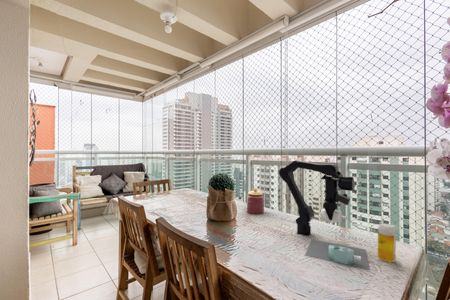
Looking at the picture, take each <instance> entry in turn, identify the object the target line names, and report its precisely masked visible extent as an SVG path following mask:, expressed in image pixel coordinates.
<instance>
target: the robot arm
mask: <svg viewBox="0 0 450 300" xmlns="http://www.w3.org/2000/svg"><path fill="white" fill-rule="evenodd" d="M298 168H299V169H304V170H309V171H315V172H319V173H321V174H323V176H322V177H320V179H321V180H324V202H323V203H322V209H325V211H326V213H327V215H328V217H329V220H332V218H333V213H334V211H335V210H336V211H338V206H339V204H338V203H341V204H343V205H345V206H349V203H350V202H351V198H350V197H349V195H348V194H347V193H345V192H344V193H339V190H338V189H340V191H349V192H354V191H355V187H356V183H355V178H354V176H343V174H342V173H341V172H340V169H339V167H338V165H337V164H334V163H322V164H320V163H314V162H307V161H302V160H299V159H298V160H293V161H291V163H289V164H287V165H286V166H284V167H281V168H280V169H279V171H278V175H279V176H280V179H282V181H284V183H286V185H287V187H288V189H289V192H290V194H291V195H292V197H293V199H294V202H295V203H296V205H297V210H298V211H297V212H298V215H299V217H298V218H296V219H295V223H296V226H297V227H296V229H297V230H296V231H297V232H296V234H297V235H301V236H306V237H308V236H309V237H310V235H311V234H312V226H311V225H310V224H311V221H312V220H313V219H314V218H315V211H314V209H313V207H312V205H311V204H310V205H308V203H306V201H305V199H304V196H303V194H302V193H301V192H300V189H299V187H298V185H297V183H296V181H295V174H294V172H295V171H296V170H297V169H298Z"/></svg>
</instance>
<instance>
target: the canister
mask: <svg viewBox="0 0 450 300" xmlns="http://www.w3.org/2000/svg"><path fill="white" fill-rule="evenodd" d="M246 197H247V200H246V212H247V213H248V214H251V215H262V214H264V213H265V200H264V198H265V196H264V192H262V191H261V190H258V189H257V188H253V190H250V191H249V192H247V195H246Z"/></svg>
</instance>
